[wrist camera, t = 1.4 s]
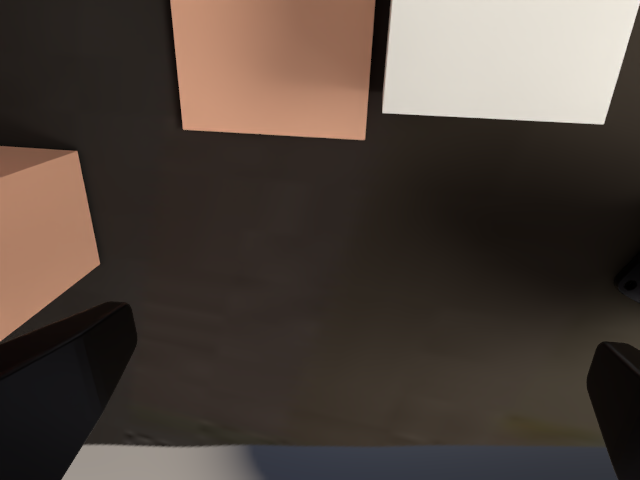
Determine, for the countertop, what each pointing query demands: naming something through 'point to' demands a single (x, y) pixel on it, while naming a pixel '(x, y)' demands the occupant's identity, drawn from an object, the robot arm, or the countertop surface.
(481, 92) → the white block
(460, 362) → the countertop surface
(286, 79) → the colour card
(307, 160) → the countertop surface
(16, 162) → the terracotta block
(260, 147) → the countertop surface
